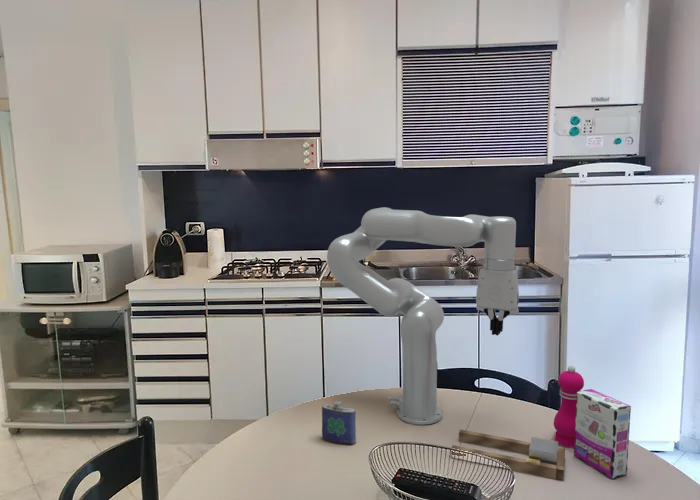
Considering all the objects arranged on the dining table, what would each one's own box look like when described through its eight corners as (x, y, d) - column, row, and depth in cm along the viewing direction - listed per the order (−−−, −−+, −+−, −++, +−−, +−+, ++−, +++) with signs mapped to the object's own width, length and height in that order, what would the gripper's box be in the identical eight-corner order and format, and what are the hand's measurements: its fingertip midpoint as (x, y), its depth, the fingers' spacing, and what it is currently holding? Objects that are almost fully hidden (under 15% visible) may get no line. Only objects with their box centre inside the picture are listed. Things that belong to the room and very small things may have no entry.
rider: (528, 469, 121) (529, 448, 120) (530, 456, 126) (531, 436, 126) (556, 474, 119) (557, 454, 118) (557, 461, 124) (558, 441, 123)
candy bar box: (628, 474, 118) (632, 405, 116) (612, 480, 116) (616, 410, 114) (588, 451, 128) (591, 387, 126) (572, 456, 126) (575, 391, 124)
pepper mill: (586, 449, 129) (590, 371, 126) (555, 447, 130) (558, 370, 127) (580, 435, 136) (583, 361, 133) (550, 433, 137) (553, 360, 134)
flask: (357, 441, 134) (356, 401, 133) (353, 447, 132) (352, 406, 130) (324, 435, 138) (323, 396, 136) (319, 440, 135) (318, 401, 134)
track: (451, 457, 126) (451, 446, 126) (460, 438, 135) (460, 427, 135) (563, 480, 116) (563, 468, 116) (564, 458, 125) (565, 446, 125)
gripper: (466, 264, 135) (464, 333, 137) (526, 269, 128) (523, 342, 130) (473, 260, 141) (471, 326, 144) (531, 264, 134) (528, 334, 137)
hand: (496, 333), depth 137 cm, fingers closed
